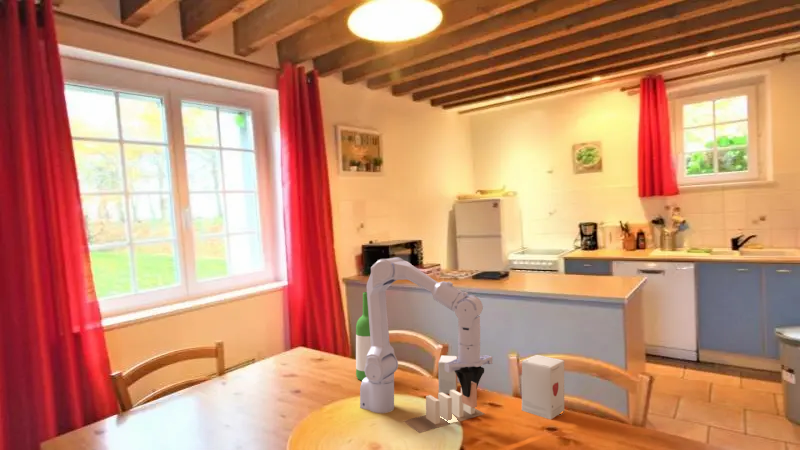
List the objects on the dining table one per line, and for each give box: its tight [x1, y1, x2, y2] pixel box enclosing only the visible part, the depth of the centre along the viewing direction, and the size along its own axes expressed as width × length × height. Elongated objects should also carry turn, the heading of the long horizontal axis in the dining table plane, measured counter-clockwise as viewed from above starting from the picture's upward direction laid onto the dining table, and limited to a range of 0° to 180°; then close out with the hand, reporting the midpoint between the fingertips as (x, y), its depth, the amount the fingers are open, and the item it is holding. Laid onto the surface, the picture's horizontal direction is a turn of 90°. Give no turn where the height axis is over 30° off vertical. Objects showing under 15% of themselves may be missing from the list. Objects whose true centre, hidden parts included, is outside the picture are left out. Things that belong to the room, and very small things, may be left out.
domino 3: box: [449, 390, 463, 418], centre depth 122 cm, size 1×4×6 cm, turn 30°
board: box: [402, 408, 486, 434], centre depth 120 cm, size 22×8×1 cm, turn 121°
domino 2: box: [437, 392, 452, 421], centre depth 120 cm, size 1×4×6 cm, turn 30°
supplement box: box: [521, 354, 565, 420], centre depth 125 cm, size 9×9×15 cm
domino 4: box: [462, 381, 478, 409], centre depth 115 cm, size 1×4×6 cm, turn 31°
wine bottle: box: [355, 291, 371, 382], centre depth 154 cm, size 8×8×30 cm
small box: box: [437, 355, 459, 395], centre depth 141 cm, size 8×6×10 cm
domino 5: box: [460, 387, 476, 414], centre depth 124 cm, size 1×4×6 cm, turn 31°
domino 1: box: [425, 394, 440, 424], centre depth 118 cm, size 1×4×6 cm, turn 31°
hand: (469, 395), depth 115 cm, fingers closed on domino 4, 1 cm apart
